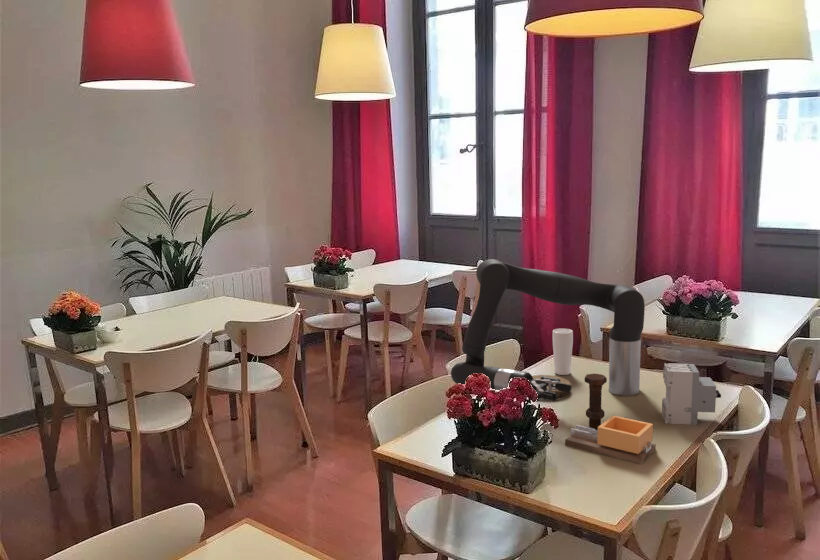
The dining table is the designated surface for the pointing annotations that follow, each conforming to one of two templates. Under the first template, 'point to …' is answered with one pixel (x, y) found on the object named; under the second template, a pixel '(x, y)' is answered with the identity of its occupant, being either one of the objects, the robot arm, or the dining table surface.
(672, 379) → the circuit breaker
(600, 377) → the bolt
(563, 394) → the brown round disc
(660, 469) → the dining table surface
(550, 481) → the dining table surface
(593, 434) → the rail
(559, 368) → the drinking glass
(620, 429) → the orange open box
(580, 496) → the dining table surface
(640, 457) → the rail board
